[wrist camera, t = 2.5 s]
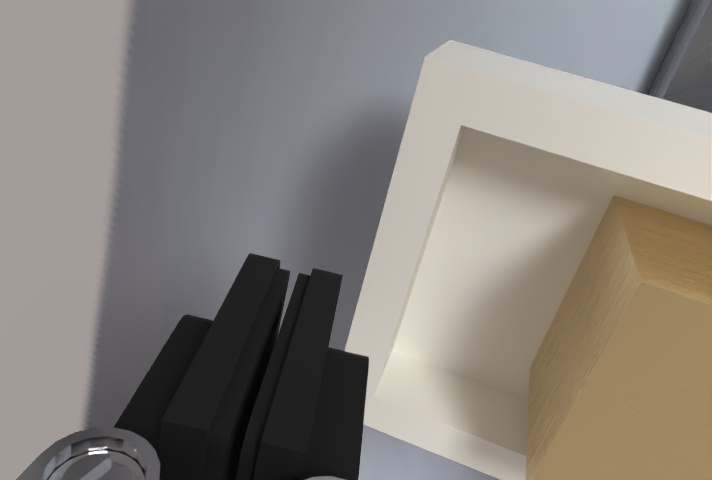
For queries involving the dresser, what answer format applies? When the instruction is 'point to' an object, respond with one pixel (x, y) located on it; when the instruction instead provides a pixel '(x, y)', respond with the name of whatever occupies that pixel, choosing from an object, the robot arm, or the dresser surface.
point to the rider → (628, 356)
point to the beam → (502, 238)
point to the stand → (689, 61)
